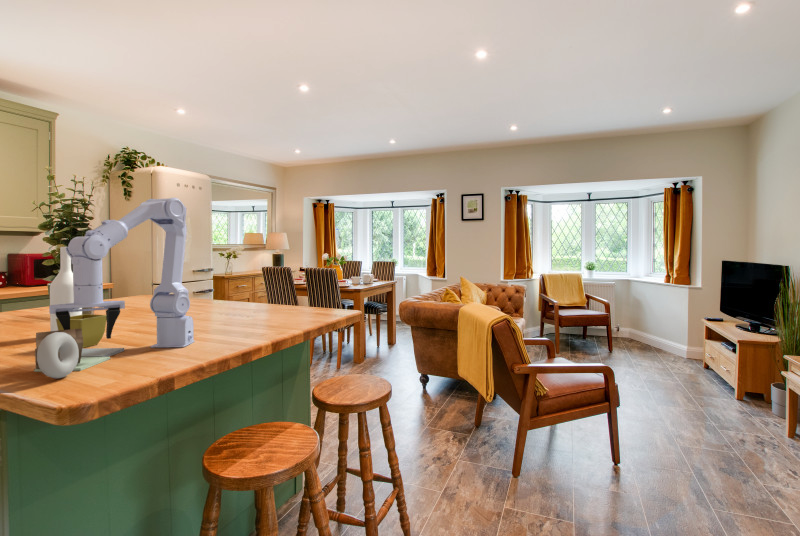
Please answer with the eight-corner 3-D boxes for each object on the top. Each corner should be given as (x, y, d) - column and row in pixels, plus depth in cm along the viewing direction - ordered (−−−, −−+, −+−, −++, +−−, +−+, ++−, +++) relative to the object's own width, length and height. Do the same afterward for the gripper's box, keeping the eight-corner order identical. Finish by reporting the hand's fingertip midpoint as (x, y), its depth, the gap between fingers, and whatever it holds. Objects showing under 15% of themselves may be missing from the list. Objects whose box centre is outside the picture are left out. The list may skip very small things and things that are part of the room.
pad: (110, 359, 104) (110, 356, 104) (80, 370, 93) (80, 368, 93) (69, 359, 103) (69, 357, 103) (34, 371, 92) (34, 369, 92)
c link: (80, 362, 98) (78, 349, 100) (83, 342, 94) (81, 328, 96) (35, 369, 92) (35, 354, 94) (37, 347, 88) (36, 332, 90)
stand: (124, 350, 114) (124, 335, 114) (102, 359, 104) (102, 342, 104) (67, 351, 113) (67, 336, 112) (40, 360, 103) (40, 343, 103)
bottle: (56, 341, 126) (54, 246, 126) (46, 338, 131) (44, 246, 130) (86, 337, 133) (85, 247, 133) (76, 335, 137) (75, 247, 137)
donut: (68, 373, 92) (63, 329, 92) (84, 370, 92) (79, 327, 92) (35, 385, 82) (29, 336, 82) (53, 382, 83) (48, 334, 83)
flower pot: (80, 350, 114) (79, 319, 114) (55, 349, 116) (54, 318, 116) (108, 344, 123) (108, 315, 122) (84, 343, 124) (84, 314, 124)
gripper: (121, 283, 106) (122, 334, 107) (48, 285, 96) (49, 341, 97) (125, 284, 101) (126, 338, 101) (49, 287, 91) (50, 346, 92)
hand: (89, 340), depth 99 cm, fingers open, 7 cm apart
